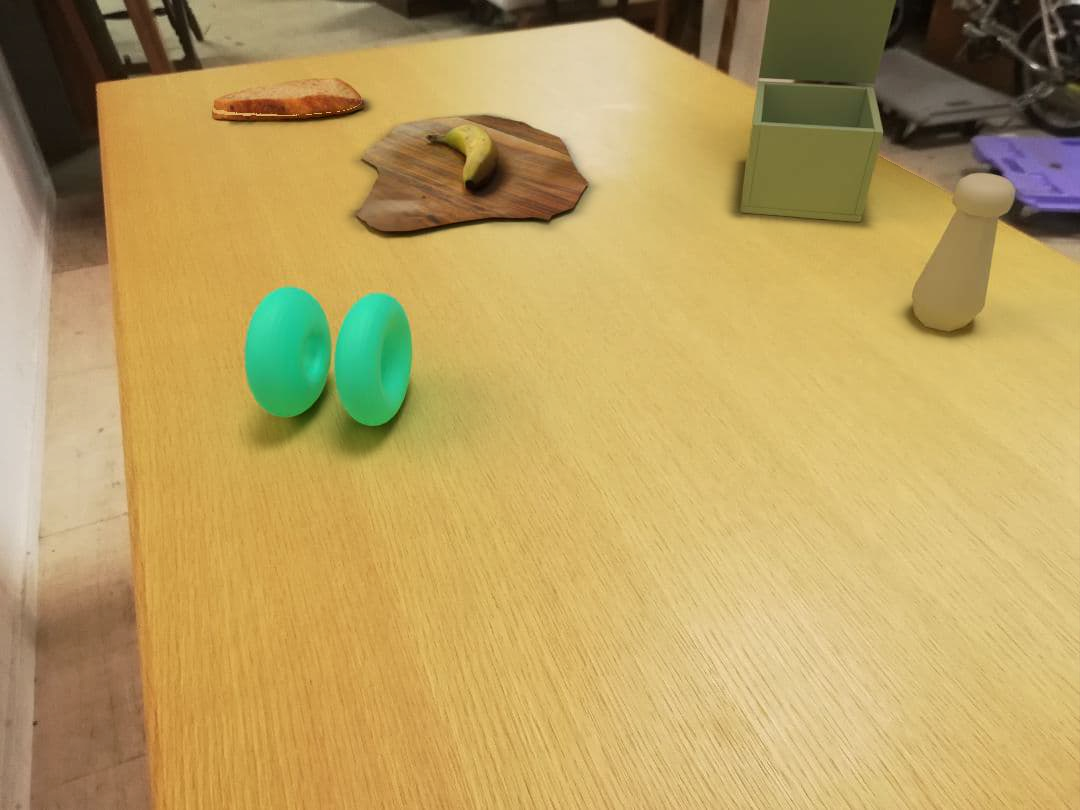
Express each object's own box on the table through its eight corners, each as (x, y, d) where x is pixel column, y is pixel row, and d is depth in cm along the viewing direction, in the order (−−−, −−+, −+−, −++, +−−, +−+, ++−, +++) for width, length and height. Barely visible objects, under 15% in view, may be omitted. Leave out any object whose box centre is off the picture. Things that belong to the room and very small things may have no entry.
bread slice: (203, 114, 115) (195, 88, 112) (305, 82, 125) (300, 57, 122) (271, 144, 105) (264, 116, 103) (376, 106, 115) (372, 80, 113)
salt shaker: (971, 305, 71) (1024, 167, 63) (980, 341, 67) (1038, 198, 58) (902, 297, 72) (945, 161, 64) (907, 332, 68) (953, 191, 60)
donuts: (385, 455, 58) (361, 345, 52) (259, 442, 60) (221, 334, 53) (423, 373, 66) (406, 269, 59) (310, 363, 67) (282, 261, 61)
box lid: (911, -63, 77) (907, -77, 80) (779, -65, 79) (780, -79, 83) (874, 84, 87) (872, 65, 90) (758, 78, 89) (760, 60, 93)
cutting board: (608, 217, 86) (609, 184, 84) (357, 247, 83) (351, 214, 80) (544, 109, 113) (543, 81, 110) (352, 128, 109) (347, 100, 107)
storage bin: (860, 222, 84) (883, 131, 77) (740, 212, 86) (753, 124, 80) (853, 170, 94) (873, 86, 87) (746, 163, 96) (758, 80, 90)
